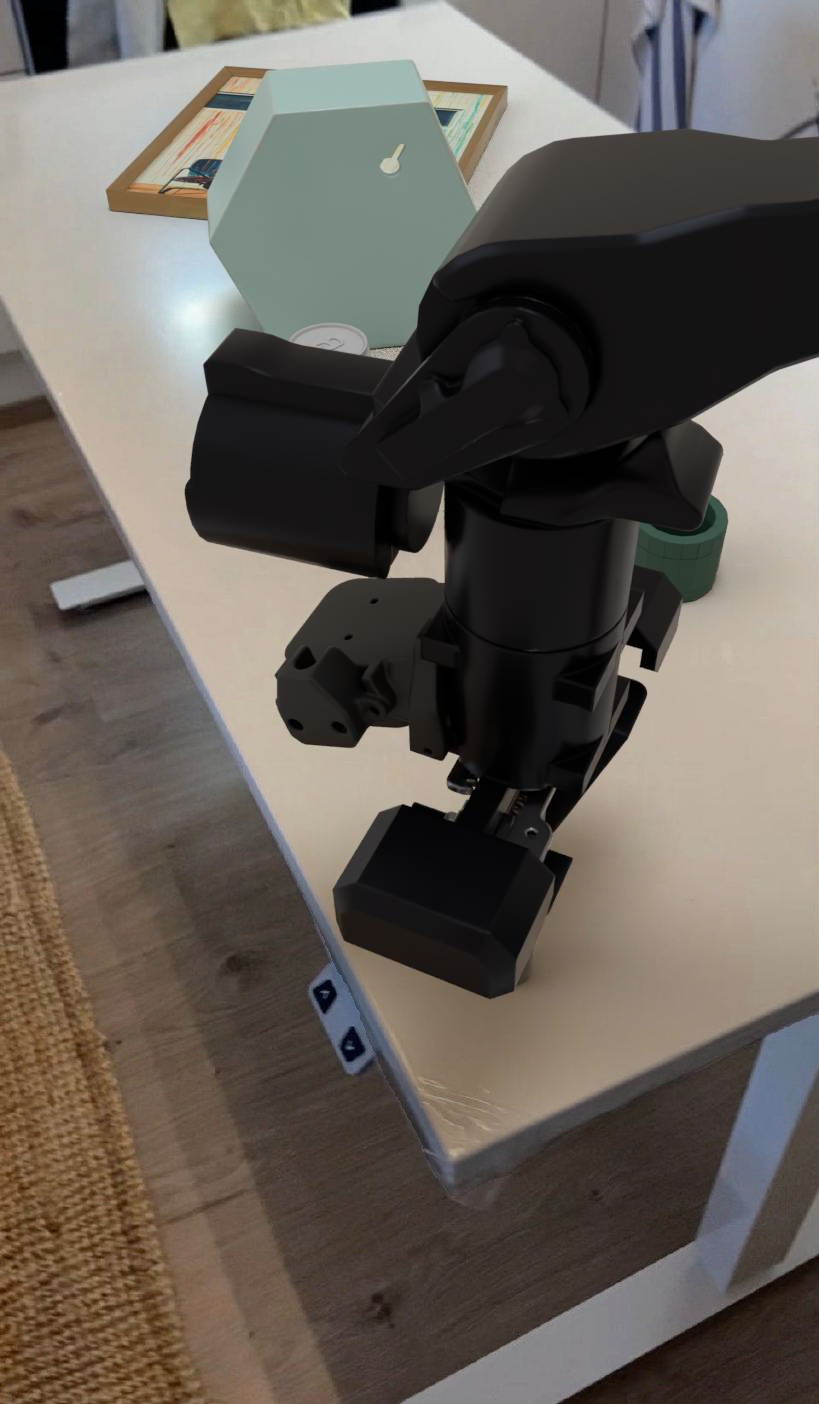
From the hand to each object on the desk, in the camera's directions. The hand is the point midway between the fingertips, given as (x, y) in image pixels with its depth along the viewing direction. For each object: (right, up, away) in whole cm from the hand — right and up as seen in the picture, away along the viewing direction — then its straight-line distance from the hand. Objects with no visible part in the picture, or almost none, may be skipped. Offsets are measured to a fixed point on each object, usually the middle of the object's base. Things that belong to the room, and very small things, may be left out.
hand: (515, 877), depth 48 cm
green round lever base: (+11, +15, +23) cm, 30 cm away
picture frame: (-13, +59, +65) cm, 89 cm away
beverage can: (-9, +19, +28) cm, 35 cm away
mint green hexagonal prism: (-9, +36, +44) cm, 57 cm away
